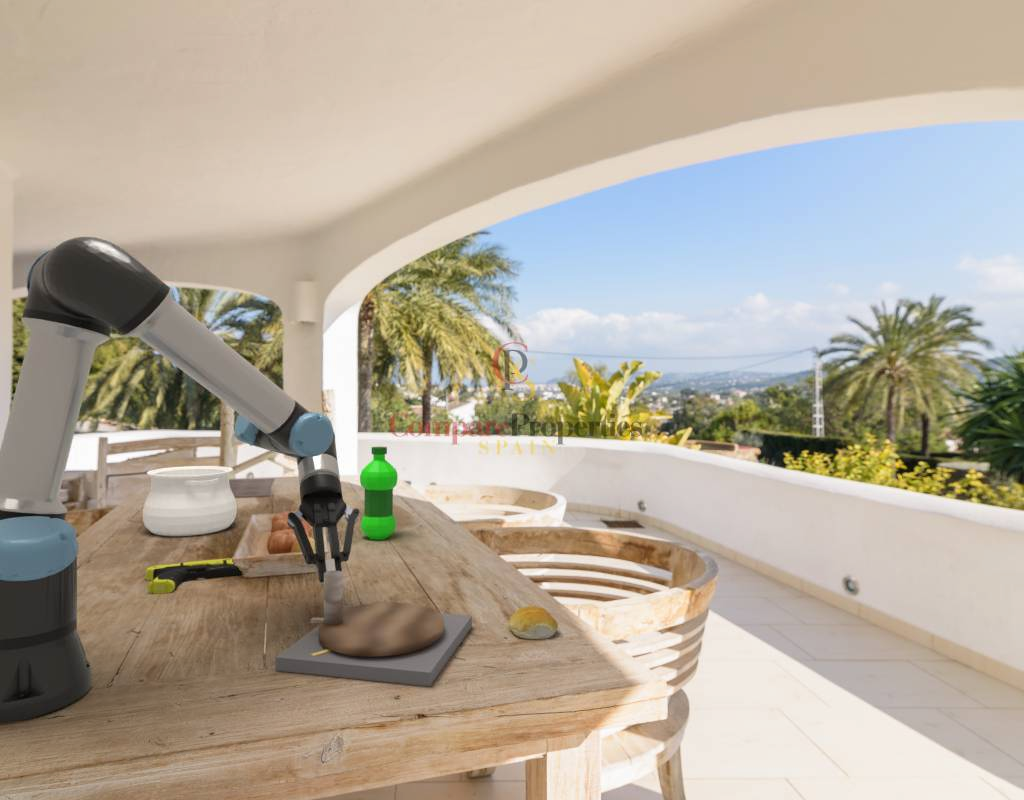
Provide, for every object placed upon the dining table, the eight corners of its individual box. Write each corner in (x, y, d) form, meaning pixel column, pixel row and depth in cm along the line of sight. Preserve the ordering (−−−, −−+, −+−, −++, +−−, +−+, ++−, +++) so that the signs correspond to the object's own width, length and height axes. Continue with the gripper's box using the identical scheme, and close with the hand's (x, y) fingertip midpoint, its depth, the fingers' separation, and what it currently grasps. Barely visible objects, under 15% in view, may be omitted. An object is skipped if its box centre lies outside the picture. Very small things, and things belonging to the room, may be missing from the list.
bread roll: (547, 621, 123) (548, 599, 123) (562, 639, 114) (562, 616, 114) (503, 623, 121) (504, 601, 121) (514, 642, 113) (515, 618, 113)
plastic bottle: (390, 542, 180) (391, 449, 179) (353, 540, 182) (354, 448, 181) (402, 534, 190) (403, 446, 189) (367, 532, 192) (367, 445, 191)
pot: (132, 527, 195) (132, 469, 194) (219, 516, 211) (219, 463, 211) (156, 543, 176) (156, 479, 175) (250, 530, 192) (250, 472, 192)
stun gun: (246, 573, 142) (240, 556, 155) (143, 583, 133) (146, 564, 147) (246, 586, 142) (240, 568, 155) (143, 598, 133) (146, 577, 147)
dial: (449, 611, 120) (449, 558, 119) (437, 657, 100) (438, 593, 99) (327, 610, 119) (328, 556, 119) (292, 655, 99) (292, 592, 99)
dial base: (430, 686, 95) (430, 671, 95) (275, 670, 100) (275, 655, 100) (471, 626, 119) (472, 614, 119) (345, 616, 124) (345, 604, 124)
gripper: (352, 493, 133) (368, 603, 118) (282, 497, 128) (290, 612, 113) (357, 470, 128) (375, 582, 113) (285, 472, 123) (293, 590, 108)
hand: (332, 597), depth 113 cm, fingers closed
